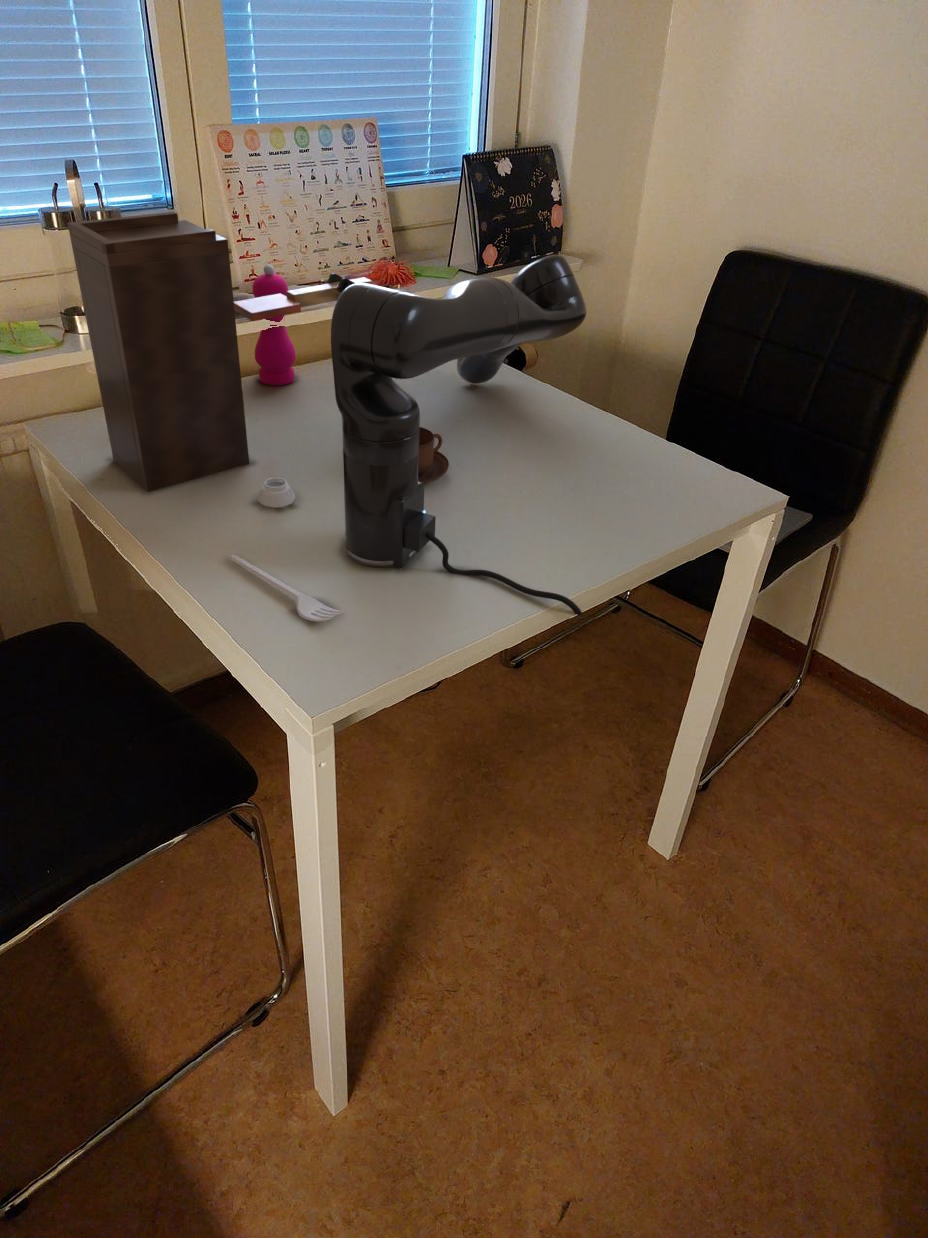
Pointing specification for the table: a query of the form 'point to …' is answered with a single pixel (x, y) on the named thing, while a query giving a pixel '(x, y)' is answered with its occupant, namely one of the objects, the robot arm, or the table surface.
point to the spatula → (290, 301)
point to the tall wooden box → (163, 345)
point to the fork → (293, 595)
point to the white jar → (276, 493)
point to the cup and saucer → (430, 457)
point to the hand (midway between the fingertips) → (335, 281)
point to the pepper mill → (273, 336)
